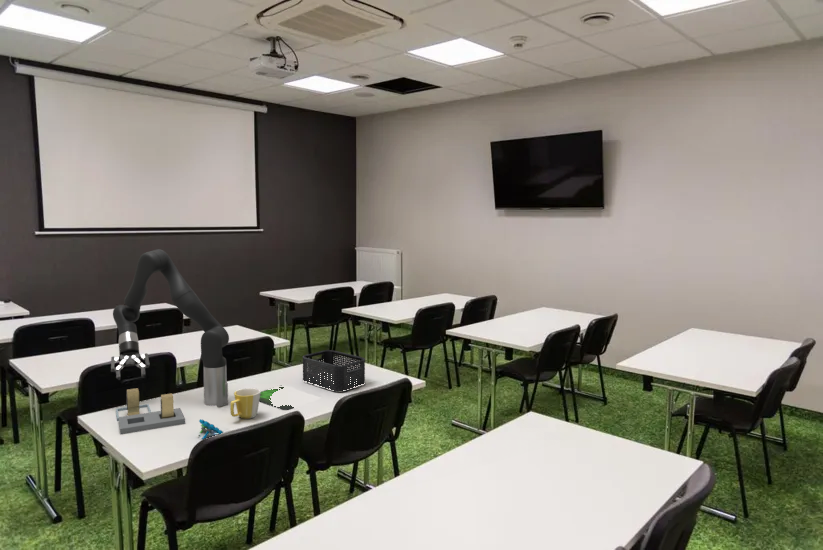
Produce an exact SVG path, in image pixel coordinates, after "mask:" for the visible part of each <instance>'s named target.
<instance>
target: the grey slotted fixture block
mask: <svg viewBox="0 0 823 550" xmlns="http://www.w3.org/2000/svg"><path fill="white" fill-rule="evenodd" d="M185 424H186V417H185V415H184V412H183V411H182V409H181V407H178V408H177V407H176V408H174V417H171V418H164V419H161V410H158V411H151V412H150V413H149V412H143V413H139V414H136V415H130V416H128V415H125V416H119V421H118V426H119V433H120V435H125V434H132V433H138V432H143V431H148V430H157V429H162V428H167V427H174V426H179V425H185Z"/></svg>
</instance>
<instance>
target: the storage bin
mask: <svg viewBox="0 0 823 550" xmlns="http://www.w3.org/2000/svg"><path fill="white" fill-rule="evenodd" d="M317 356H320V357H319V358H318V359H312V358H313V357H317ZM324 372H325V373H324ZM320 373H321V374H320ZM327 373H328V374H327ZM318 374H319V375H318ZM331 374H332V375H331ZM320 375H321V376H320ZM327 375H328V376H327ZM324 376H325V377H324ZM331 376H332V377H331ZM313 377H314V378H313ZM320 377H321V378H320ZM327 377H328V378H327ZM350 377H351V378H350ZM309 378H310V379H309ZM324 378H325V379H324ZM331 378H332V379H331ZM320 379H321V380H320ZM327 379H328V380H327ZM350 379H351V380H350ZM356 379H357V380H356ZM303 380H304V381H307V382H310V383H313V384H317V385H319V386H322V387H325V388H328V389H329V388H330V389H331V390H334V391H343V390H347V389H350V388H353V387H354V386H355V387H356V386H358V385H361V384H364V383H365V384H366V358H365V357H362V356H359V355H354V354H350V353H345V352H341V351H336V350H333V349H331V350H330V349H326V350H321V351H317V352H313V353H308V354H304V355H303V356H302V381H303ZM309 380H310V381H309ZM316 380H317V381H316ZM331 380H332V381H331ZM320 381H321V382H320ZM333 381H334V382H333ZM350 381H351V382H350ZM356 381H357V382H356ZM354 382H355V383H354ZM320 383H321V384H320ZM333 383H334V384H333ZM350 383H351V384H350ZM356 383H357V384H356ZM348 384H349V385H348ZM354 384H355V385H354ZM365 384H364V385H365ZM329 386H330V387H329Z"/></svg>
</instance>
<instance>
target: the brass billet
mask: <svg viewBox="0 0 823 550" xmlns="http://www.w3.org/2000/svg"><path fill="white" fill-rule="evenodd" d="M139 390H140V389H139V387H138V388H130V389H126V407H127V410H126V411H127V416H130V415H136V414H140V408H139V405H140V391H139Z"/></svg>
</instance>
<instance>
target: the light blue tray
mask: <svg viewBox="0 0 823 550" xmlns="http://www.w3.org/2000/svg"><path fill="white" fill-rule="evenodd" d="M143 408H147V413H150V412H152V411H151V408H150V404H149V403H146V404H139V409H143ZM121 411H123V412H124V411H128V410H127V406H125V407H117V408H115V415H116V421H117V422H119V417H120V416H119V412H121Z"/></svg>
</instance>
